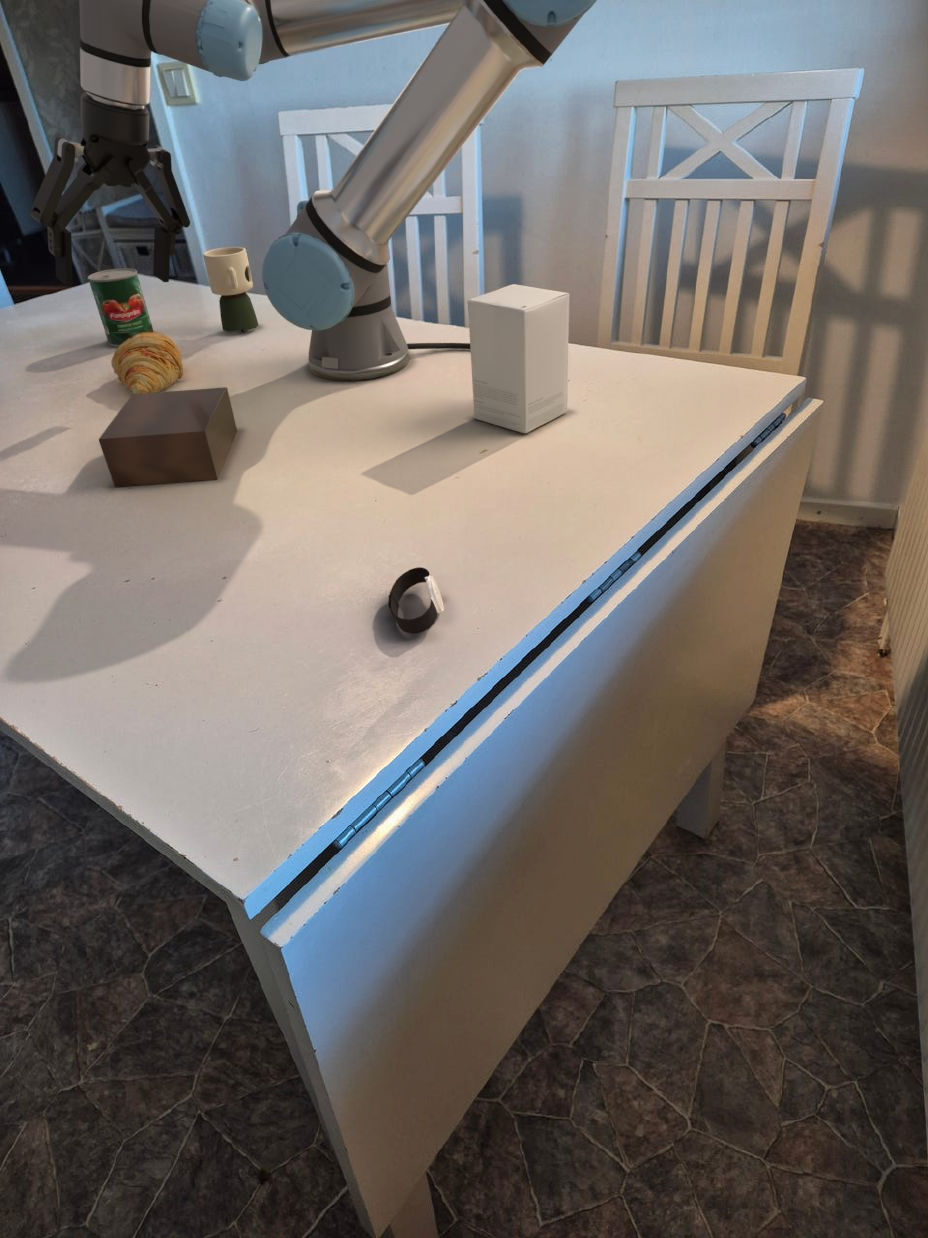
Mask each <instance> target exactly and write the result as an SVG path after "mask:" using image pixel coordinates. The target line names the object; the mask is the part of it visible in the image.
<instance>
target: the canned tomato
mask: <svg viewBox="0 0 928 1238" xmlns="http://www.w3.org/2000/svg"><path fill="white" fill-rule="evenodd" d="M138 275H139V274H138V271H137V270H136V269H134V268H127V267H125V268H113V269H112V268H111V269H105V270H101V271H97V272H94V273H91V274H89V275H88V276H87V280H88V282H89V286H90V289H91V292H92V295H93V299H94V301H95V305H96V307H97V310H98V314H99V317H100V320H101V323H102V327H103V329H104V333H105V336H106V339H107V343H108V345H109V346H110V347H115V348H118V347H119V346H120V345H121V344H122V343H123V342H125V341H126V340H127V339H129V338H132V337H133V336H134V335H137V334H140V333H143V332H148V331H149V332H150V331H154V328H153V325H152V321H151V317H150V314H149V310H148V306H147V302H146V299H145V296H144V292H143V289H142V285H141V281H140V278H139V276H138Z"/></svg>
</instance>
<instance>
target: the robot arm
mask: <svg viewBox="0 0 928 1238" xmlns="http://www.w3.org/2000/svg"><path fill="white" fill-rule="evenodd" d="M597 1H598V0H78V3H79V28H80V30H79V31H80V33H79V34H80V35H79V36H80V38H79V44H80V45H79V46H80V47H79V63H80V65H79V66H80V67H79V68H80V69H79V71H80V86H81V88H82V89H83V90H84V91H85V92H83V93H82V94H81V95H80V126H81V131H82V137H81V141H80V142H75V141H74V142H73V141H70V140H67V139H65V138H64V137H62V136H56V137H55V139H54V145H53V157H52V159H51V161H50V164H49V167H48V168H47V171H46V173H45V176H44V177H43V180H42V183H41V185H40V186H39V187H40V188H39V189H38V192H37V194H36V195H35V196H36V197H35V198H34V201H33V203H32V206H31V209H30V210H29V215H30V217H32V219H34V220H35V221H36V222H38V223H39V224H40V225H41V226H43V227H46V228H47V244H48V245H47V248H48V251H49V253H50V254H51V255H53V256H54V257H55V258H54V259H55V260H54V261H55V277H56V279H58V280H59V281H60V282H61V283H62V284H64V285H65V286H66V287H73V286H74V285H73V283H74V282H73V279H74V278H73V248H72V245H73V243H72V232H71V231H69V230H68V229H67V226H68V225H70V223H71V221H72V220H73V219H74V218H75V216H76V215H77V214H78V213H79V211H80V210H81V209H82V207H83V206H84V205H85V204H86V202H87V201H88V200H89V199H90V197H91V196H92V194H93V193H94V192H95V191H97V190H100V188H101V187H102V186H103V185H105V186H107V187H118V186H121V187H124V188H132V186H134V187H135V188H136V189H135V190H137V191H138V193H139V194H140V196H141V198H142V199H143V200H144V202H145V203H146V204H147V206H148V207H149V209H150V211H151V212H152V213H153V215H154V216H155V218H156V219H157V220H158V222H159V223H160V225H154V232H153V233H154V238H153V262H152V263H153V265H152V266H153V267H152V270H153V271H152V275H153V276H154V277H156V278H157V279H158V280H160V281H161V282H163V283H169V282H170V266H171V263H170V262H171V256H174V255H175V253H176V237H177V236H178V235H180V234H181V233H182V228H186V229H187V228H189V227H190V225H191V220H190V218H189V217H190V216H189V215H188V211H187V209H186V206H185V204H184V201H183V198H182V194H181V193H180V189H179V186H178V184H177V181H176V179H175V175H174V173H173V168H172V167H173V165H172V154H171V152H170V151H168V150H166V149H165V148H163V147H161V146H159V144H154V145H153V146H152V148H148V142H149V140H150V111H149V109H148V108H147V107H146V106H148V105H149V104H150V103H151V71H152V70H151V65H152V53H154V54H155V55H159V56H164V57H167V58H170V59H173V60H175V61H178V62H181V63H184V64H186V65H190V66H191V67H195V68H198V69H200V70H203V71H206V72H209V73H211V74H213V75H214V76H216V77H219V78H228V79H231V80H235V81H239V82H246V81H248V80H250V79H251V78H252V77H253V75H254V73H255V72H256V71H257V69H258V66H259V65H264V64H267V63H269V62H271V61H276V60H281V59H286V58H288V57H289V58H290V57H293V56H299V55H304V54H309V53H313V52H318V51H324V50H328V49H334V48H338V47H343V46H344V47H345V46H347V45H353V44H359V43H364V42H368V41H373V40H377V39H384V38H388V37H393V36H399V35H401V34H402V35H403V34H406V33H413V32H418V31H422V30H427V29H432V28H438V27H443V26H447V27H446V28H444V31H443V32H442V34H441V35H440V36H439V38H438V39H437V41H435V43H434V45H433V46H432V48H431V49H430V51H429V52H428V53H427V55H426V56H425V58H424V59H423V61H422V62H421V63H420V65H419V66H418V68H417V69H416V70H415V72H414V73H413V75H412V76H411V78H410V79H409V81H408V82H407V83H406V85H405V87H404V88H403V89H402V91H401V92H400V93H399V95H398V96H397V97H396V99H395V101H394V102H393V103H392V105H391V106H390V108H389V109H388V111H387V112H386V113H385V115H384V116H383V118H382V119H381V121H380V122H379V123H378V125H377V126H376V128H375V129H374V131H372V133H371V135H370V136H369V138H368V139H367V141H366V142H365V144H364V145H363V146H362V148H361V149H360V150H359V152H358V153H357V155H356V156H355V157H354V159H353V160H352V162H351V163H350V165H349V166H348V167H347V169H346V170H345V172H344V173H343V175H342V176H341V178H340V179H339V180H338V182H337V183H336V185H335V186H334V188H332V189H322V190H316V191H314V193H313V194H312V195H311V196H310V197H309V199H307V200H305V199H304V200H301V201H299V202H298V203H297V205H296V218H295V220H294V221H293V222H292V224H291V226H290V227H289V228H288V230H287V231H286V232H285V233H284V234H283V235H281V236H278V238H277V239H274V241H273V242H272V243H271V245H270V246H269V248H268V250H267V252H266V254H265V256H264V258H263V263H262V268H261V278H262V279H261V280H262V282H263V286H264V291H265V294H266V296H267V299H268V300H269V303H270V304H271V305H272V307H273V308H274V309H275V311H276V312H277V313H278V314H279V315H280V316H281V317H282V318H283V319H285V320H286V321H287V322H289V323H290V324H292V325H294V326H296V327H298V328H301V329H303V330H308V331H311V332H310V333H311V334H310V341H309V346H308V347H309V349H308V357H307V358H308V359H307V360H308V365H309V370H310V372H311V373H312V374H313V375H315V376H317V377H319V378H321V379H326V380H332V381H342V382H343V381H346V382H347V381H348V382H349V381H351V382H352V381H363V380H364V381H365V380H371V379H376V378H379V377H380V378H381V377H384V376H388V375H391V374H394V373H395V372H398V371H400V370H402V369H403V368H405V367H406V366H407V365H408V363H409V362H410V354H409V350H448V349H449V350H452V349H454V350H471V349H470V342H414V343H413V342H412V343H410V342H409V343H408V342H407V341H406V338H405V337H404V334H403V331H402V329H401V328H400V324H399V322H398V320H397V317H396V315H395V312H394V310H393V306H392V297H391V287H390V275H389V267H388V263H389V261H390V260H391V253H390V246H389V245H390V244H389V242H390V240H391V238H392V237H393V236H394V235H395V234H396V232H397V231H398V229H400V227H401V226H402V225H403V223H404V222H405V221H406V220H407V218H408V217H409V215H410V214H412V211H413V210H414V209H415V208H416V207H417V205H418V204H419V203H420V201H421V200H422V198H424V196H425V195H426V194H427V192H428V191H429V190H430V189H431V187H432V186H433V185H434V183H435V182H436V181H437V179H438V178H439V177H440V176H441V174H442V173H443V171H445V169H446V168H447V166H448V165H449V164H450V162H451V161H452V160H453V159H454V157H455V156H456V155H457V154H458V152H459V151H460V150H461V148H462V147H463V146H464V145H465V143H466V142H467V140H468V139H469V138H470V137H471V135H472V134H473V133H474V132H475V130H476V129H477V128H478V127H479V125H480V124H481V122H482V121H483V120H484V118H486V116H488V114H489V112H490V111H491V110H492V109H493V107H494V106H495V104H496V103H497V102H498V101H499V100H500V98H501V97H502V96H503V94H504V93H505V92H506V90H507V89H508V88H509V87H510V85H511V84H512V83H513V82H514V80H515V79H516V78H517V76H518V75H519V74H520V73H521V72H522V71H523V70H525V69H536V68H543V67H544V66H545V64H546V63H547V62H548V61H549V59H550V58H551V57H552V55H554V53H555V52H556V51H557V49H558V48H559V46H561V44H562V43H563V41H565V39H566V38H567V36H568V35H569V34H570V33H571V32H572V30H573V29H574V28H575V26H576V25H577V24H578V23H579V21H580V20H581V19H582V18H583V16H584V15H585V14H586V13H587V12H588V11H589V10H590V9H591V8H592V7H593V6H594V5H595V4H596V3H597ZM79 157H81V158H82V159H83V161H84V162H83V163H82V165H81V166H80V167H79V168H78V170H77V171H76V177H75V178H74V179H73V181H72V182H71V183H70V184H69V186H68V187H67V188H66V186H67V184H68V182H69V180H70V178H71V176H72V173H73V170H74V167H75V163H78V162H79ZM149 163H150V165H151V166H152V167H153V170H154V173H155V175H156V178H157V181H158V183H159V187H160V189H161V191H162V194H163V197H164V199H165V202H166V205H167V207H168V209H167V207H166V206H165V204H164V202H163V201H162V199H161V198H160V197H159V195H158V194H157V192H156V191H155V189H154V188H153V184H152V183H151V181H150V179H149V178H148V177H147V175H146V174H145V172H144V171H145V169H146V168H147V167H148V165H149Z"/></svg>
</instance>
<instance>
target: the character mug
mask: <svg viewBox="0 0 928 1238" xmlns="http://www.w3.org/2000/svg"><path fill="white" fill-rule="evenodd" d="M202 257H203V262H204V267H205V270H206V274H207V278H208V279H207V280H208V283H209V288H210V291H211V293H212V294H214V295H217V296H220V297H219V300H218V301H219V312H220V322H221V327H222V331H224V332H235V331H240V333H245V331H251V330H254V329H256V328H258V327H259V326H260V324H259V321H258V317H257V314H256V311H255V308H254V304H253V303H252V300H251V297H250V296H249V294H248V291H251V290H252V289H253V288H254V282H253V277H252V272H251V268H250V263H249V259H248V254H247V249H246V248H245V247H241V246H228V247H227V246H225V247H219V248H218V247H217V248H214V249H213V248H212V249H209V250H206V251H204V252H203V253H202Z"/></svg>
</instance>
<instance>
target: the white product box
mask: <svg viewBox="0 0 928 1238" xmlns="http://www.w3.org/2000/svg"><path fill="white" fill-rule="evenodd" d="M467 314H468V331H469V343H470V349H469V350H470V364H471V383H472V384H471V385H472V398H473V419H475V420H477V421H481V422H484V423H489V424H491V425H494V426H498V427H501V428H505V429H508V430H511V431H515V432H518V433H522V434H528V433H530V432H531V431H533V430H535V429H538V428H539V427H541V426H543V425H545V424H547V423H549V422H550V421H552V420H553V421H554V420H555V419H556V418H558V417H561V416H562V415H564V414H566V413H567V414H568V402H569V401H568V396H569V394H568V393H569V392H568V391H569V336H570V335H569V333H570V331H569V329H570V327H569V326H570V325H569V324H570V293H569V292H564V291H558V290H551V289H545V288H539V287H533V286H527V285H521V284H515V283H513V284H509V285H506V286H503V287H501V288H499V289H496V290H493V291H490V292H486V293H483V294H480V295H478V296H475V297H473V298H470V299H468V300H467Z"/></svg>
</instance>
